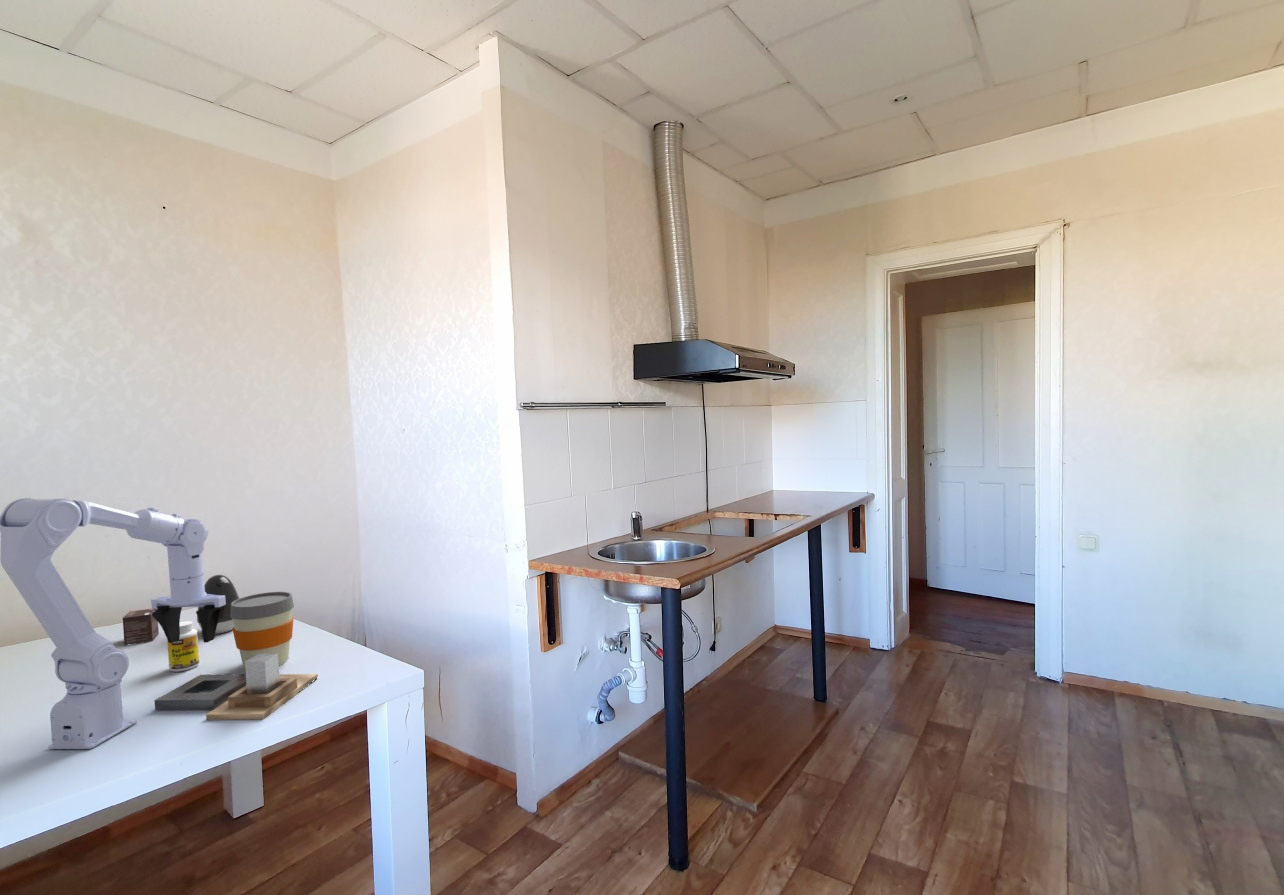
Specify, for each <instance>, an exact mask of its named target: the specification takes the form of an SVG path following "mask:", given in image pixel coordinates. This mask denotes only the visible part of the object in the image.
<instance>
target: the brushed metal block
mask: <svg viewBox="0 0 1284 895" xmlns="http://www.w3.org/2000/svg"><path fill="white" fill-rule="evenodd" d="M244 671H245V674H246V684H247V694H269V693H270V692H272V691H273V690H275V689H276V688H277V687H279V686H280V679H279V674H280V666H279V664H278V653H269V654H257V655H255V656H254V657H252V658H250V659H248V660H247V661H245V669H244Z"/></svg>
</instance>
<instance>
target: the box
mask: <svg viewBox="0 0 1284 895" xmlns="http://www.w3.org/2000/svg"><path fill="white" fill-rule="evenodd" d="M155 611H157V608H156V609H152V608H148V609H147V608H146V609H140V610H132V611H128V612H127V613H126V614H125V615H124V616H123V617H122V629H123V642H124V643H123V644H124V646H129V645H128V644H132V645H135V644H134V643H137V644H142V642H144V643H151V642H153V641H154V640H155V639H156V637H158V635H159V633H160V632H159V623H158V621H157V620H156V619H155V618H154V617H153V616H152V613H153V612H155Z"/></svg>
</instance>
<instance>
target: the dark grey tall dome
mask: <svg viewBox="0 0 1284 895" xmlns="http://www.w3.org/2000/svg"><path fill="white" fill-rule="evenodd" d="M204 587H205V592H206V594H211V595H222V596H223V595H225V600H226V605H225V609H224V610H223V612H222V614H221V616H220V618H219V621H218V624H217V628H216V632H215V635H218V634H223V633H228V632H230V631H233V627H234V624H233V619H232V618H231V617H230V612H231V603H232V602H233V601H235V600H237V599H240V597H239V594H238V592H237V588H236V587H235V585H234V583H233V582H232V581H231V580H230V578H229V577H227V576H226V575H223V574H216V575H213V576H211V577H209V578H208V579H207V580H206V582H204ZM203 608H204V607H197V610H196V611H198V610H200V609H203ZM196 622H197V623H198V625H199V627H200V629H201V630H202V627H201V623H200V620H199V618H198V616H197V615H196Z"/></svg>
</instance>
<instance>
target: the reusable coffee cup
mask: <svg viewBox="0 0 1284 895" xmlns="http://www.w3.org/2000/svg"><path fill="white" fill-rule="evenodd" d="M294 607H295V604H294V599H293V594H292V593H291V592H289V591H269V592H261V593H255V594H250V595H247V596H243V597H241V598H240V597H239V599H237V600H235V601H233V602H232V603H231V612H230V617H231V618H232V619H233V624H234V627H233V629H232V634H233V638H234V641H235V645H236V647H235V648H236V649H238V650H239V655H240V658H241V664H242V667H243V670H245V661H247V660H248V659H250V658H252V657H254V656H255V655H257V654H269V653H278V664H279V665H280V666H282V665H284V664H286V663H287V662H288V661H289V658H290V656H289V655H290V647H291V646H290V645H291V644H290V642H291V640H292V638H293V632H294V630H293V628H294V617H293V609H294ZM287 660H288V661H287ZM286 661H287V662H286ZM285 662H286V663H285ZM283 663H284V664H283Z"/></svg>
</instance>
